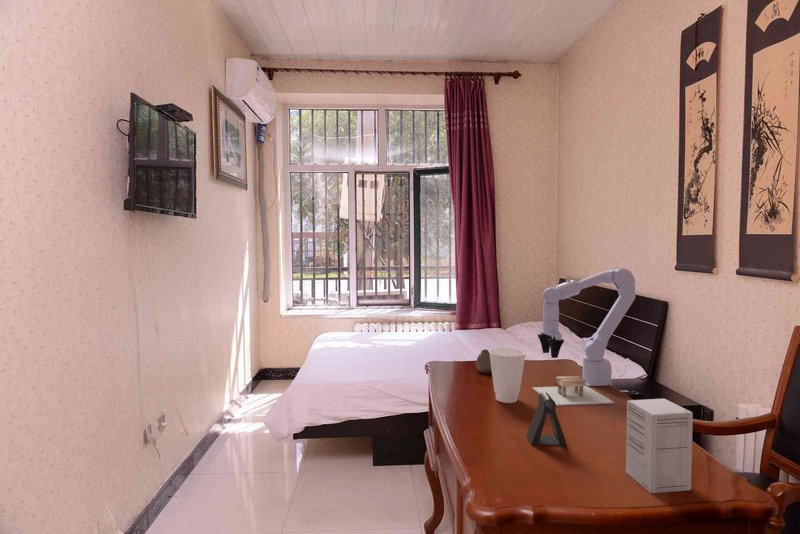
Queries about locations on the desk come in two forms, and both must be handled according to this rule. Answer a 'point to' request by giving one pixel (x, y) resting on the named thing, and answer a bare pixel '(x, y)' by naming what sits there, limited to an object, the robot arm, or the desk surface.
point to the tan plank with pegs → (570, 384)
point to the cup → (507, 373)
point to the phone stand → (539, 419)
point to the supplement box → (659, 445)
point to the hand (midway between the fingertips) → (550, 355)
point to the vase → (484, 362)
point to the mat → (573, 396)
